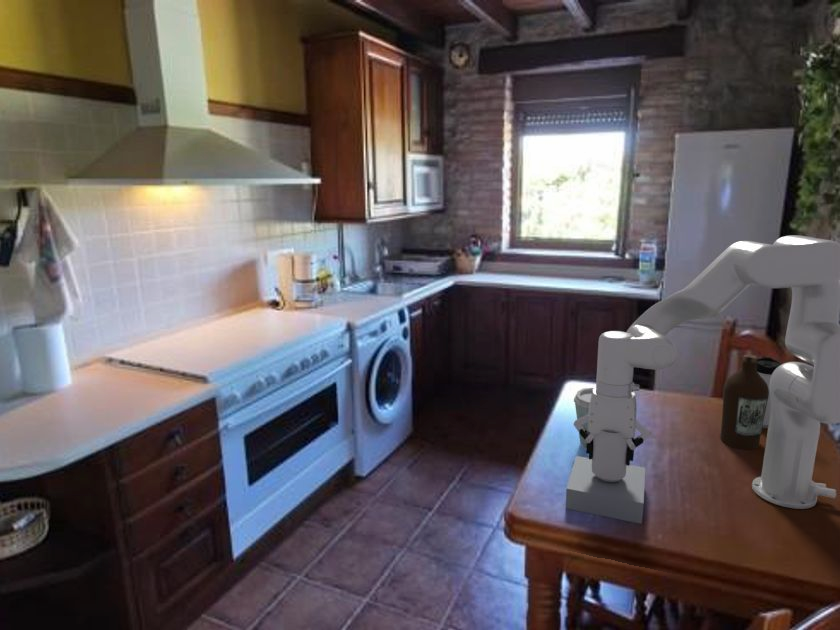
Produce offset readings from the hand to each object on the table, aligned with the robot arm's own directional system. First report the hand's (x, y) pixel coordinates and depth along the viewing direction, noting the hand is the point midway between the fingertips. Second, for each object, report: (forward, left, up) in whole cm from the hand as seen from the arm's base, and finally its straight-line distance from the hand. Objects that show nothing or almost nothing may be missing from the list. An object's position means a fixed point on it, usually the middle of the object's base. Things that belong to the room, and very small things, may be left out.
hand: (609, 459), depth 126 cm
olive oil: (-32, -42, -10) cm, 54 cm away
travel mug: (-39, -57, -10) cm, 70 cm away
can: (0, 0, -4) cm, 4 cm away
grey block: (0, 0, -10) cm, 10 cm away
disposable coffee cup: (+6, -26, -10) cm, 28 cm away
